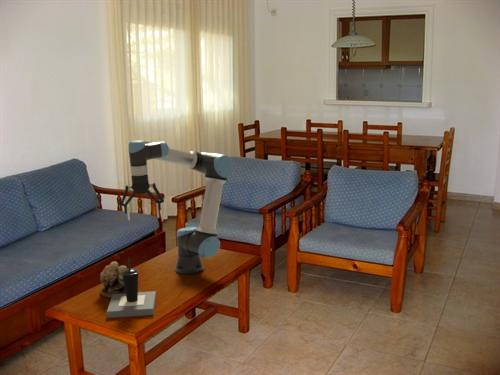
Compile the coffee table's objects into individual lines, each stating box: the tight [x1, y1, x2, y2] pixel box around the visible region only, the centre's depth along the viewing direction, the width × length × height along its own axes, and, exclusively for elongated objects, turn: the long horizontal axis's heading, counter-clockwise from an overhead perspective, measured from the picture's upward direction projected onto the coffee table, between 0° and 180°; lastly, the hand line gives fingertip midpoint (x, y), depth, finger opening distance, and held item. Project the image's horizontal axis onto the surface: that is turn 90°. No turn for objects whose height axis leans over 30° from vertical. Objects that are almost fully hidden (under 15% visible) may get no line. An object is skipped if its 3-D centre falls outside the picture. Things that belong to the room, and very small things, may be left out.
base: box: [106, 290, 157, 319], centre depth 251 cm, size 20×20×3 cm
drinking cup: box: [122, 257, 140, 302], centre depth 249 cm, size 8×8×20 cm
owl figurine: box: [99, 261, 128, 300], centre depth 266 cm, size 18×12×17 cm, turn 71°
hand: (143, 218), depth 259 cm, fingers open, 13 cm apart
